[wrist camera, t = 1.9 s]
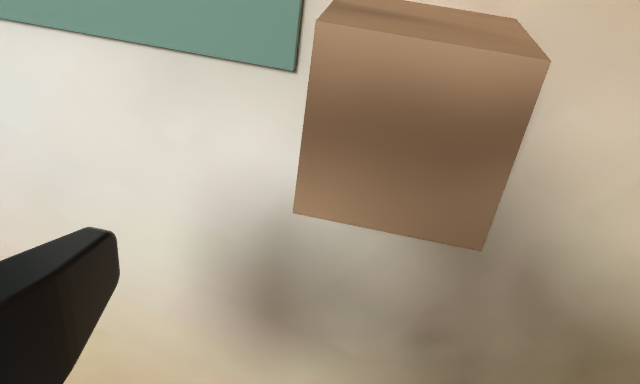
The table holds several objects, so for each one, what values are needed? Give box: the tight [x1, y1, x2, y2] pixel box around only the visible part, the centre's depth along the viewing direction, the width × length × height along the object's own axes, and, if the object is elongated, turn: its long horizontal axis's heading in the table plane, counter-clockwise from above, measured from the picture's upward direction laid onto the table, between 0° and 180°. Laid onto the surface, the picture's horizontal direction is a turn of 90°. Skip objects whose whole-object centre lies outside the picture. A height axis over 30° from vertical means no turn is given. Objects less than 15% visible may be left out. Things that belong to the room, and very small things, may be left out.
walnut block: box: [293, 0, 551, 251], centre depth 15 cm, size 6×6×5 cm
